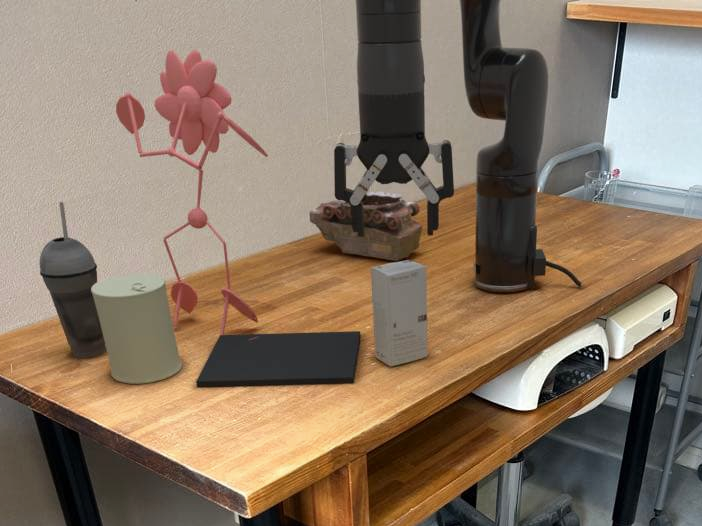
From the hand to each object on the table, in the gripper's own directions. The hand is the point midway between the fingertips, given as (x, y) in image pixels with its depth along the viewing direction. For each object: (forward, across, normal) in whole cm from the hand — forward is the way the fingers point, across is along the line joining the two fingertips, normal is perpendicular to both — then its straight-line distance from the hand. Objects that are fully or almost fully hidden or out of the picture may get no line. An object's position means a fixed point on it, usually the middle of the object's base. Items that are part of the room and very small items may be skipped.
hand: (395, 234), depth 106 cm
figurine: (+16, -26, +16) cm, 34 cm away
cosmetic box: (+16, 0, 0) cm, 16 cm away
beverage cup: (+16, -44, +5) cm, 47 cm away
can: (+16, -34, -2) cm, 38 cm away
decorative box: (+16, -8, +48) cm, 51 cm away
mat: (+16, -16, 0) cm, 23 cm away
